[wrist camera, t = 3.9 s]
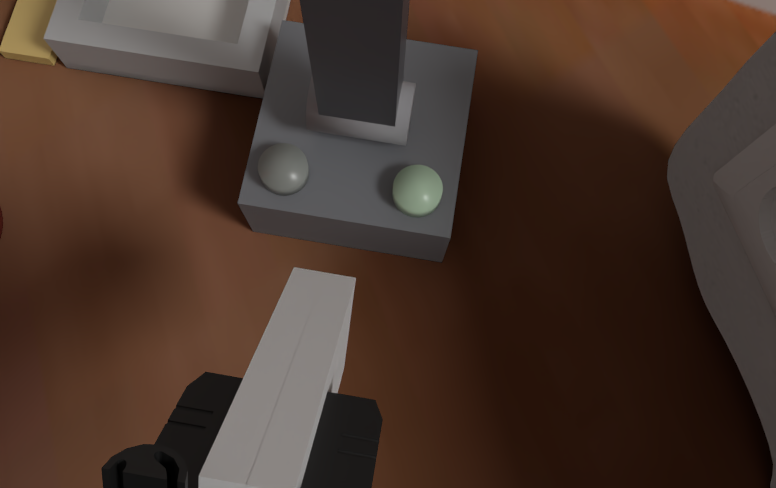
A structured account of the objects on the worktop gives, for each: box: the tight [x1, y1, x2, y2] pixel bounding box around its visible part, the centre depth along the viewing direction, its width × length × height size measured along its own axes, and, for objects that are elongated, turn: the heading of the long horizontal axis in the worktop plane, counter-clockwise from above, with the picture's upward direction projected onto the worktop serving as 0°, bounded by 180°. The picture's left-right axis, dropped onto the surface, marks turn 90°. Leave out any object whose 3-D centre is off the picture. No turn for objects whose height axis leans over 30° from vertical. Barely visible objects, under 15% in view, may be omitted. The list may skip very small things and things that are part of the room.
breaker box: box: [238, 20, 478, 262], centre depth 24 cm, size 7×7×4 cm
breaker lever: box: [300, 0, 416, 146], centre depth 18 cm, size 3×2×11 cm, turn 81°
